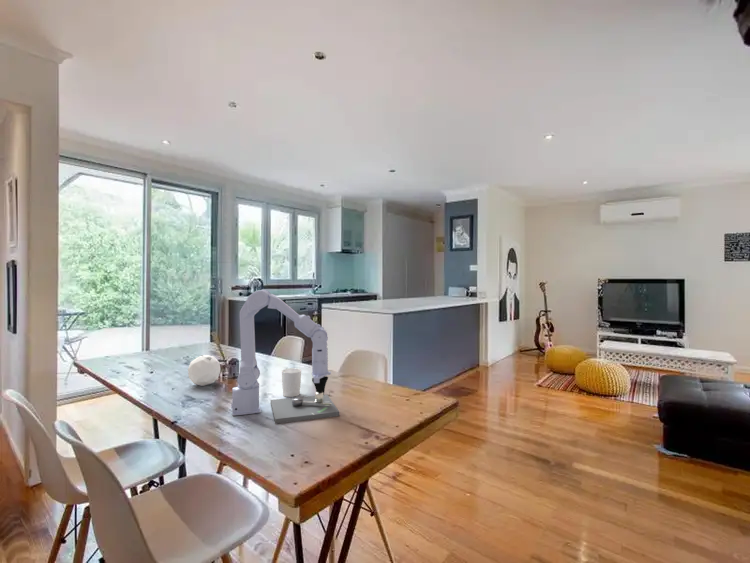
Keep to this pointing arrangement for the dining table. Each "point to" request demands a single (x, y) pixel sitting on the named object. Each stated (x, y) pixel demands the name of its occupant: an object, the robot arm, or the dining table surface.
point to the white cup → (291, 382)
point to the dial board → (301, 410)
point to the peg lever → (318, 401)
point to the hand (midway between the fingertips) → (320, 396)
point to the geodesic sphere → (204, 370)
